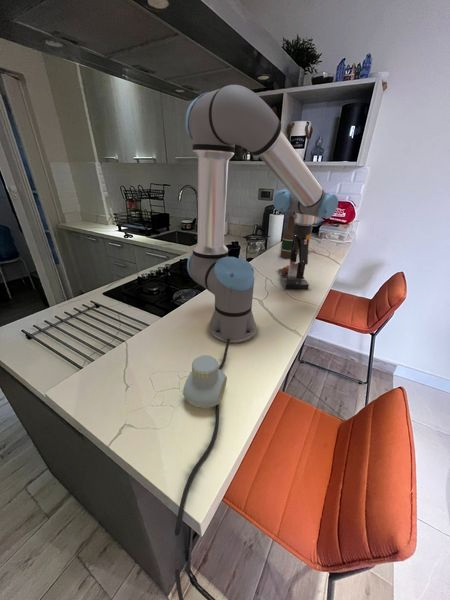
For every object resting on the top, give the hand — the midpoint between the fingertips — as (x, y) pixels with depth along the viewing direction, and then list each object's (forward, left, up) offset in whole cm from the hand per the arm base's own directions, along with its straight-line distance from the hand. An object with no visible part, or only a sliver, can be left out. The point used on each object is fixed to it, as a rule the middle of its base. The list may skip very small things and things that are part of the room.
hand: (295, 272), depth 114 cm
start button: (+11, 0, -3) cm, 12 cm away
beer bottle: (+39, -5, -6) cm, 39 cm away
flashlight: (+49, -16, -6) cm, 51 cm away
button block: (+11, 0, -6) cm, 13 cm away
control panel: (0, 0, -6) cm, 6 cm away
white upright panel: (0, 0, -3) cm, 3 cm away
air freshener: (-63, +36, -6) cm, 73 cm away
